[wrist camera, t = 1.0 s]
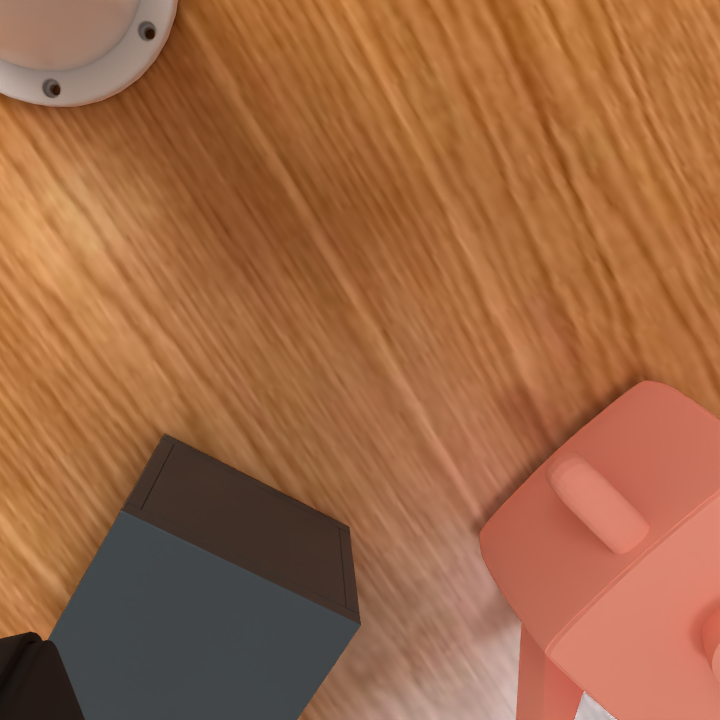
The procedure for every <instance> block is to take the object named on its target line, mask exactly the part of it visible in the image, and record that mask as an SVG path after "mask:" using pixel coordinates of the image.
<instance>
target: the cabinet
mask: <svg viewBox="0 0 720 720" xmlns="http://www.w3.org/2000/svg"><path fill="white" fill-rule="evenodd" d="M359 614H360V613H359V605H358V597H357V588H356V580H355V572H354V563H353V555H352V547H351V538H350V529H349V527H348V526H346V525H344V524H342V523H340V522H338V521H336V520H334V519H332V518H330V517H328V516H326V515H324V514H322V513H320V512H318V511H316V510H314V509H313V508H311V507H309V506H307V505H305V504H303V503H301V502H299V501H297V500H295V499H293V498H291V497H289V496H287V495H285V494H283V493H281V492H279V491H277V490H275V489H273V488H271V487H269V486H267V485H265V484H263V483H261V482H259V481H257V480H255V479H253V478H251V477H250V476H248V475H246V474H244V473H242V472H240V471H238V470H236V469H234V468H232V467H230V466H228V465H226V464H224V463H222V462H220V461H218V460H216V459H214V458H212V457H210V456H208V455H206V454H204V453H202V452H200V451H198V450H196V449H194V448H192V447H190V446H189V445H187V444H185V443H183V442H181V441H179V440H177V439H175V438H173V437H171V436H169V435H167V434H164V435H163V437H162V438H161V440H160V442H159V444H158V445H157V447H156V449H155V451H154V452H153V454H152V456H151V458H150V460H149V461H148V463H147V465H146V467H145V468H144V470H143V472H142V474H141V475H140V477H139V479H138V481H137V483H136V484H135V486H134V488H133V490H132V491H131V493H130V495H129V497H128V498H127V500H126V502H125V504H124V505H123V507H122V509H121V511H120V513H119V514H118V516H117V518H116V520H115V521H114V523H113V525H112V527H111V528H110V530H109V532H108V534H107V536H106V537H105V539H104V541H103V543H102V544H101V546H100V548H99V550H98V551H97V553H96V555H95V557H94V558H93V560H92V562H91V564H90V566H89V567H88V569H87V571H86V573H85V574H84V576H83V578H82V580H81V581H80V583H79V585H78V587H77V588H76V590H75V592H74V594H73V596H72V597H71V599H70V601H69V603H68V604H67V606H66V608H65V610H64V611H63V613H62V615H61V617H60V619H59V620H58V622H57V624H56V626H55V627H54V629H53V631H52V633H51V634H50V636H49V638H48V640H50V641H52V642H53V643H54V644H55V645H56V647H57V649H58V652H59V654H60V657H61V659H62V662H63V664H64V667H65V669H66V672H67V675H68V677H69V680H70V682H71V685H72V687H73V690H74V692H75V695H76V698H77V700H78V703H79V705H80V708H81V710H82V713H83V716H84V718H85V720H297V719H298V718H299V716H300V715H301V713H302V712H303V710H304V709H305V707H306V706H307V704H308V703H309V701H310V700H311V698H312V697H313V695H314V694H315V692H316V691H317V689H318V688H319V686H320V685H321V683H322V682H323V680H324V679H325V677H326V676H327V674H328V673H329V672H330V670H331V669H332V667H333V666H334V664H335V663H336V661H337V660H338V658H339V657H340V655H341V654H342V652H343V651H344V649H345V648H346V646H347V645H348V643H349V642H350V640H351V639H352V637H353V636H354V634H355V633H356V631H357V630H358V628H359V627H360V625H361V621H360V615H359Z"/></svg>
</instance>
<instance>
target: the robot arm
mask: <svg viewBox="0 0 720 720" xmlns="http://www.w3.org/2000/svg"><path fill="white" fill-rule="evenodd" d="M177 3H178V0H0V93H2V94H4V95H6V96H8V97H11V98H14V99H18V100H21V101H24V102H27V103H32V104H38V105H44V106H50V107H78V106H82V105H87V104H91V103H95V102H100V101H102V100H104V99H107V98H109V97H111V96H113V95H115V94H117V93H120V92H122V91H123V90H124V89H126V88H127V87H128V86H130V85H131V84H132V83H134V82H135V81H136V80H138V79H139V78H140V77H141V76H142V75H143V74H144V73H145V72H146V71H147V69H148V68H149V67H150V66H151V65H152V64H153V63H154V61H155V60H156V59H157V57H158V55H159V54H160V52H161V50H162V48H163V46H164V45H165V43H166V41H167V39H168V37H169V34H170V31H171V28H172V25H173V22H174V19H175V16H176V11H177ZM150 29H152V30H154V32H155V36H154V37H153V39H147V37H146V32H147V31H148V30H150ZM56 85H58V86H59V87H60V89H61V90H60V94H59V95H55V94H54V93H53V88H54V87H55V86H56ZM0 720H85V718H84V716H83V713H82V710H81V708H80V705H79V703H78V700H77V698H76V695H75V692H74V690H73V687H72V685H71V682H70V680H69V677H68V675H67V672H66V669H65V667H64V664H63V662H62V659H61V657H60V654H59V652H58V649H57V647H56V645H55V644H54V643H53V642H52V641H50V640H45V641H42V639H41V637H40V636H39V635H38V634H37V633H34V632H28V633H24V634H19V635H15V636H10V637H6V638H1V639H0Z"/></svg>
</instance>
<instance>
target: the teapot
mask: <svg viewBox="0 0 720 720" xmlns="http://www.w3.org/2000/svg"><path fill="white" fill-rule="evenodd" d="M479 539H480V548H481V553H482V557H483V560H484V562H485V564H486V566H487V568H488V570H489V572H490V573H491V575H492V577H493V579H494V581H495V582H496V584H497V586H498V588H499V589H500V591H501V593H502V594H503V596H504V597H505V599H506V601H507V602H508V604H509V605H510V606H511V608H512V609H513V611H514V612H515V614H516V615H517V617H518V618H519V619H520V621H521V622H522V625H521V642H520V660H519V677H518V694H517V712H516V720H574V718H575V715H576V712H577V709H578V706H579V703H580V700H581V697H582V694H583V691H585V692H586V693H587V694H588V695H589V696H590V697H592V698H593V699H594V700H595V701H596V702H597V703H598V704H600V705H601V706H602V707H603V708H604V709H605V710H606V711H608V712H609V713H610V714H611V715H612V716H613V717H615V718H616V719H617V720H720V420H719V419H718V418H717V417H715V416H714V415H713V414H711V413H710V412H709V411H707V410H706V409H705V408H703V407H702V406H700V405H699V404H698V403H696V402H695V401H693V400H692V399H690V398H689V397H687V396H686V395H684V394H683V393H681V392H679V391H678V390H676V389H674V388H673V387H671V386H669V385H666V384H663V383H659V382H654V381H643V382H640V383H638V384H637V385H635V386H634V387H632V388H631V389H629V390H628V391H627V392H625V393H624V394H623V395H621V396H620V397H619V398H618V399H616V400H615V401H614V402H613V403H611V404H610V405H609V406H608V407H607V408H605V409H604V410H603V411H602V412H601V413H599V414H598V415H597V416H596V417H595V418H593V419H592V420H591V421H590V422H589V423H587V424H586V425H585V426H584V427H583V428H581V429H580V430H579V431H578V432H577V433H576V434H574V435H573V436H572V437H571V438H570V439H569V440H567V441H566V442H565V443H564V444H563V445H562V446H561V447H560V448H559V449H557V450H556V451H555V452H554V453H553V454H552V455H551V456H550V457H549V458H548V459H547V460H546V461H545V462H544V463H543V464H542V465H541V466H540V467H539V468H538V469H537V470H536V471H535V472H534V473H533V474H532V475H531V476H530V477H529V478H528V479H527V480H526V481H525V482H524V483H523V484H522V485H521V486H520V487H519V488H518V489H517V490H516V491H515V492H514V493H513V494H512V495H511V496H510V497H509V498H508V499H507V501H506V502H505V503H504V504H503V505H502V506H501V507H500V508H499V509H498V510H497V511H496V512H495V513H494V515H493V516H492V517H491V518H490V519H489V520H488V522H487V523H486V524H485V525H484V527H483V528H482V530H481V532H480V534H479Z"/></svg>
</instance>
